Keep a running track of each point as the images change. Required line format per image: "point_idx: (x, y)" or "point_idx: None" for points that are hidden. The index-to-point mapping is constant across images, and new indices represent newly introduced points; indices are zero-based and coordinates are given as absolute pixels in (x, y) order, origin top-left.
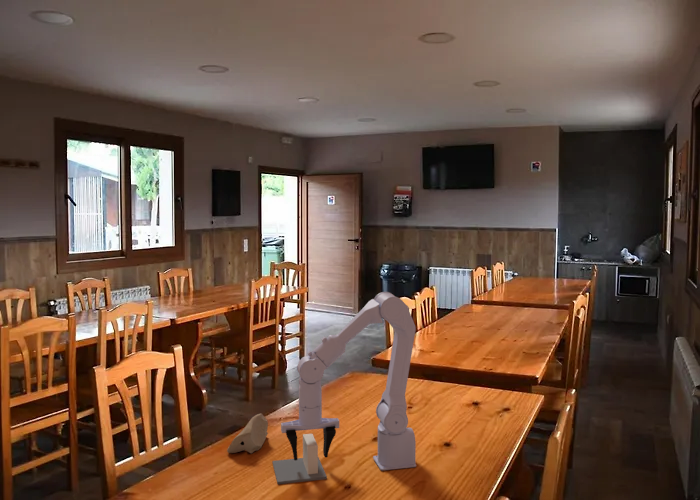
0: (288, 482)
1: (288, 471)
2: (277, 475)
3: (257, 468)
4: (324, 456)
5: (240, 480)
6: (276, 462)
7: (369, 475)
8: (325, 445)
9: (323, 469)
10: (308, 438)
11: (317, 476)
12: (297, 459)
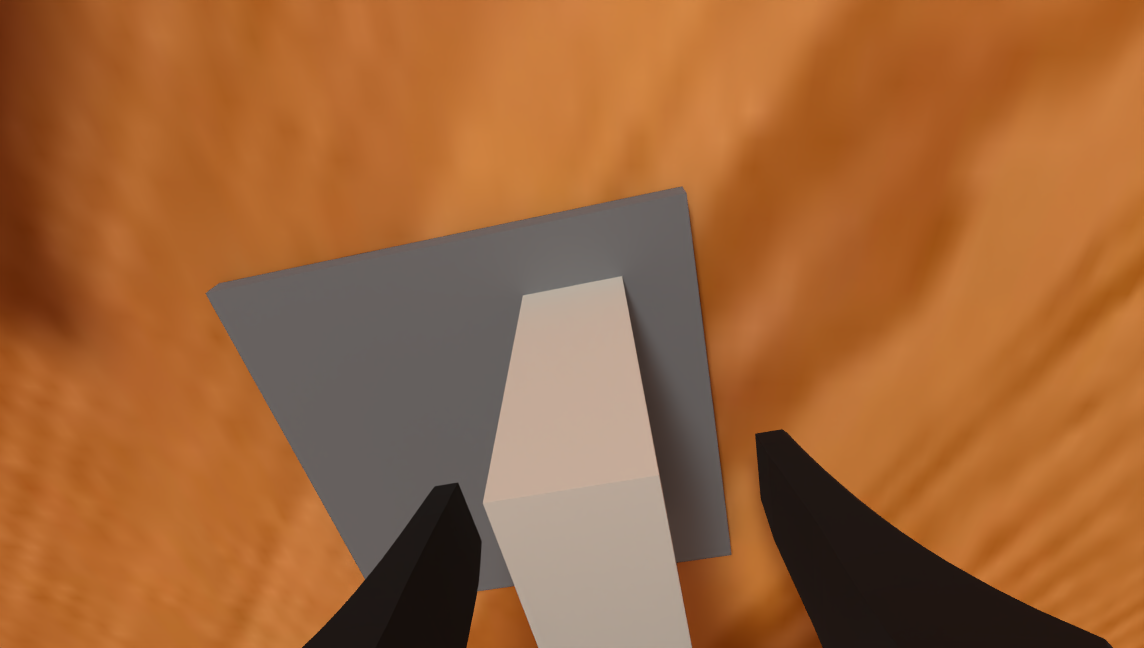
0: None
1: (423, 483)
2: (352, 535)
3: (127, 378)
4: (759, 477)
5: (101, 542)
6: (261, 327)
7: (1066, 498)
8: (814, 607)
9: (717, 459)
10: (593, 627)
11: None
12: (460, 264)
